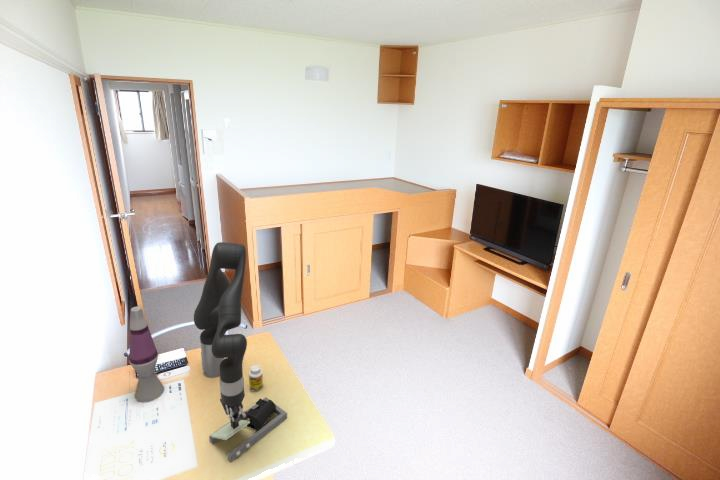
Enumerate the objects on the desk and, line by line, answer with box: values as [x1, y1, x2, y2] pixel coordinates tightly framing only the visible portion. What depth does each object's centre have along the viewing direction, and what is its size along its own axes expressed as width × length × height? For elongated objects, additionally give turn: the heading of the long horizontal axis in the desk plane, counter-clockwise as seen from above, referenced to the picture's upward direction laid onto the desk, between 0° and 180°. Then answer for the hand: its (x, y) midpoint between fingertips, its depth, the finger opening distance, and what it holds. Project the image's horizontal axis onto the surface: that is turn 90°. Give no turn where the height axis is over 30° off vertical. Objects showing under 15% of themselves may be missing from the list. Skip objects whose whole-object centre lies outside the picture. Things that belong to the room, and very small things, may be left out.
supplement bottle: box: [248, 364, 264, 392], centre depth 160 cm, size 6×6×10 cm
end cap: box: [246, 398, 276, 431], centre depth 145 cm, size 10×7×7 cm
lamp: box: [128, 305, 165, 403], centre depth 149 cm, size 11×11×40 cm
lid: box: [209, 419, 250, 441], centre depth 134 cm, size 12×10×1 cm
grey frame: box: [208, 396, 288, 463], centre depth 141 cm, size 13×26×2 cm, turn 142°
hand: (234, 426), depth 131 cm, fingers closed
